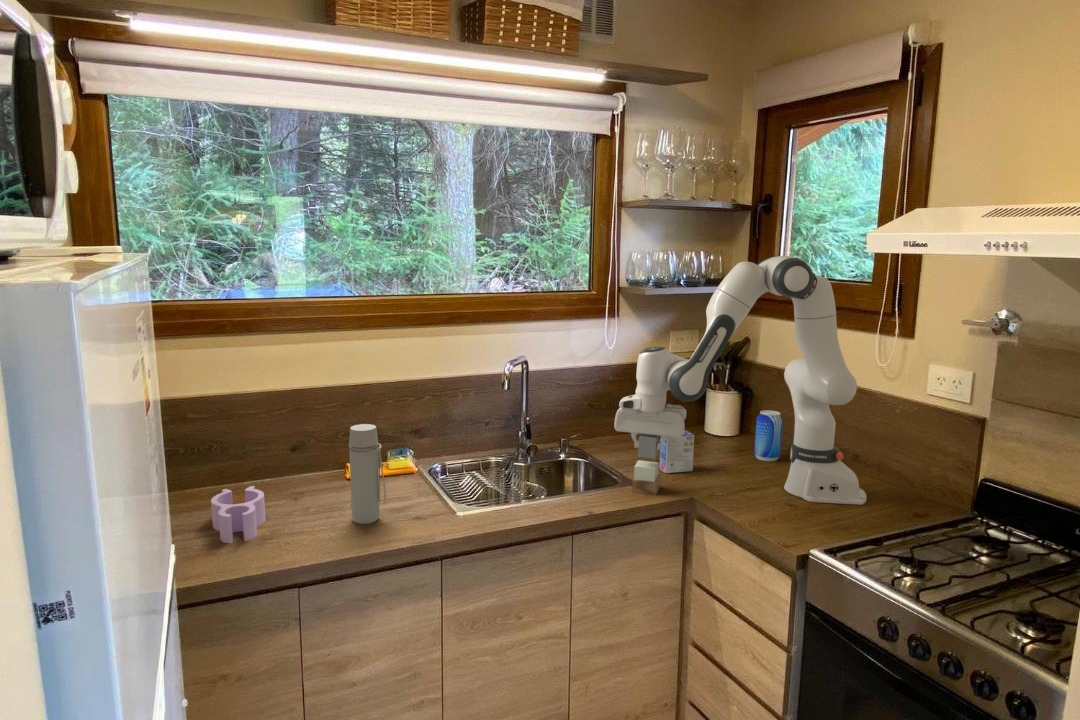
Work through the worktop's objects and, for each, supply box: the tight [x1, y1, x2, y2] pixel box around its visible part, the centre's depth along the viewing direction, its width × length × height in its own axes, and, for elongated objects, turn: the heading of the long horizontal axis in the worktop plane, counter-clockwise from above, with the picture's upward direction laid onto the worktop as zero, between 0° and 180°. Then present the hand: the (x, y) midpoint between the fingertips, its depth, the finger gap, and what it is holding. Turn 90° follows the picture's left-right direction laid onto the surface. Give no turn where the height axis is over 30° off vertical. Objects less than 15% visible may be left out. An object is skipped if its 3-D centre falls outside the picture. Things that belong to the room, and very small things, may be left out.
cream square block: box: [633, 459, 659, 482], centre depth 207 cm, size 6×6×4 cm
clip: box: [210, 485, 266, 544], centre depth 178 cm, size 20×12×7 cm, turn 22°
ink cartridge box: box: [659, 430, 695, 474], centre depth 225 cm, size 10×6×14 cm, turn 106°
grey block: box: [637, 433, 660, 460], centre depth 205 cm, size 5×5×6 cm
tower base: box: [631, 474, 661, 496], centre depth 208 cm, size 7×7×4 cm
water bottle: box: [348, 423, 387, 525], centre depth 181 cm, size 9×8×25 cm
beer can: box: [753, 409, 784, 462], centre depth 238 cm, size 8×8×16 cm
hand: (648, 448), depth 206 cm, fingers closed on grey block, 5 cm apart
